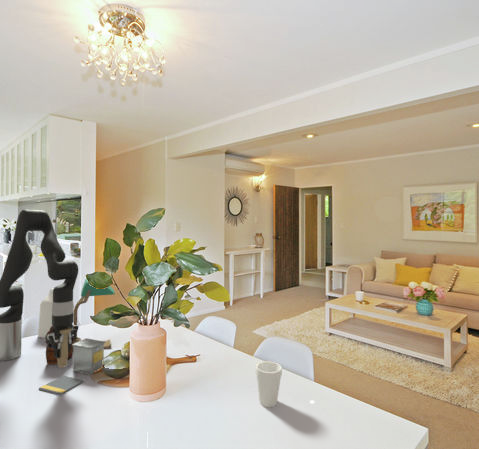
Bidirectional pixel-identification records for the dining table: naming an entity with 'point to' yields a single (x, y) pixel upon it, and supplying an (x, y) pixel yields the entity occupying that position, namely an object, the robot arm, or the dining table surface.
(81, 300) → the banker's lamp
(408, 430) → the dining table surface
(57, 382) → the mat
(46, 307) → the milk
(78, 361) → the tin
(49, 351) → the wooden figurine
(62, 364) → the handle
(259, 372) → the foam cup
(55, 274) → the robot arm
